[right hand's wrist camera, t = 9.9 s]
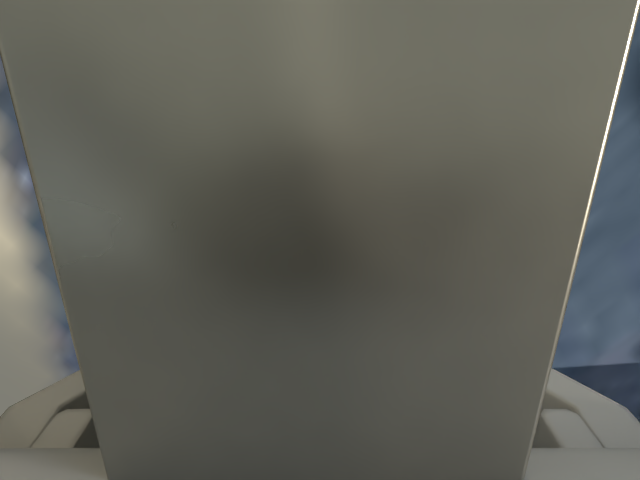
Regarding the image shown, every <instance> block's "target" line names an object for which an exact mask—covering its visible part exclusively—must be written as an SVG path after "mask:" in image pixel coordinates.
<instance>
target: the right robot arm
mask: <svg viewBox="0 0 640 480" xmlns="http://www.w3.org/2000/svg"><path fill="white" fill-rule="evenodd" d="M0 480H108V478H107V474H106V470H105V466H104V462H103V458H102V454H101V450H100V446H99V442H98V438H97V434H96V430H95V427H94V423H93V419H92V415H91V411H90V407H89V403H88V399H87V395H86V391H85V387H84V383H83V379H82V375H81V371H80V370H79V371H77V372H75V373H73V374H71V375H69V376H68V377H66V378H64V379H62V380H60V381H58V382H56V383H54V384H52V385H50V386H48V387H46V388H45V389H43V390H41V391H39V392H37V393H35V394H33V395H31V396H29V397H27V398H26V399H24V400H22V401H20V402H18V403H16V404H14V405H12V406H10V407H9V408H8V409H7V410H6V411H5V412H4V413H3V414H2V415H1V416H0ZM524 480H640V422H639V421H638V420H637V419H636V418H635V417H634V416H633V414H632V413H631V412H630V411H629V410H628V409H627V408H626V407H624V406H622V405H620V404H618V403H617V402H615V401H613V400H611V399H609V398H607V397H605V396H603V395H601V394H600V393H598V392H596V391H594V390H592V389H590V388H588V387H586V386H585V385H583V384H581V383H579V382H577V381H575V380H573V379H571V378H569V377H568V376H566V375H564V374H562V373H560V372H558V371H556V370H554V369H552V368H551V372H550V376H549V380H548V384H547V388H546V392H545V396H544V400H543V404H542V408H541V412H540V416H539V420H538V425H537V429H536V433H535V437H534V441H533V445H532V449H531V453H530V457H529V461H528V465H527V469H526V473H525V477H524Z"/></svg>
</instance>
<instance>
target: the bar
mask: <svg viewBox="0 0 640 480" xmlns="http://www.w3.org/2000/svg"><path fill="white" fill-rule="evenodd" d="M639 10H640V0H0V55H1V59H2V63H3V67H4V71H5V75H6V79H7V83H8V87H9V91H10V95H11V99H12V102H13V106H14V110H15V114H16V118H17V122H18V126H19V130H20V134H21V138H22V142H23V146H24V150H25V154H26V158H27V162H28V166H29V170H30V174H31V178H32V182H33V185H34V189H35V193H36V197H37V201H38V205H39V209H40V213H41V217H42V221H43V225H44V229H45V233H46V237H47V241H48V245H49V249H50V253H51V257H52V261H53V265H54V268H55V272H56V276H57V280H58V284H59V288H60V292H61V296H62V300H63V304H64V308H65V312H66V316H67V320H68V324H69V328H70V332H71V336H72V340H73V344H74V347H75V351H76V355H77V359H78V363H79V367H80V371H81V375H82V379H83V383H84V387H85V391H86V395H87V399H88V403H89V407H90V411H91V415H92V419H93V423H94V427H95V430H96V434H97V438H98V442H99V446H100V450H101V454H102V458H103V462H104V466H105V470H106V474H107V478H108V480H524V477H525V473H526V469H527V465H528V461H529V457H530V453H531V449H532V445H533V441H534V437H535V433H536V429H537V425H538V420H539V416H540V412H541V408H542V404H543V400H544V396H545V392H546V388H547V384H548V380H549V376H550V372H551V368H552V364H553V360H554V355H555V351H556V347H557V343H558V339H559V335H560V331H561V327H562V323H563V319H564V315H565V311H566V307H567V303H568V299H569V295H570V290H571V286H572V282H573V278H574V274H575V270H576V266H577V262H578V258H579V254H580V250H581V246H582V242H583V238H584V234H585V230H586V225H587V221H588V217H589V213H590V209H591V205H592V201H593V197H594V193H595V189H596V185H597V181H598V177H599V173H600V169H601V165H602V160H603V156H604V152H605V148H606V144H607V140H608V136H609V132H610V128H611V124H612V120H613V116H614V112H615V108H616V104H617V100H618V95H619V91H620V87H621V83H622V79H623V75H624V71H625V67H626V63H627V59H628V55H629V51H630V47H631V43H632V39H633V35H634V30H635V26H636V22H637V18H638V14H639Z"/></svg>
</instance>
